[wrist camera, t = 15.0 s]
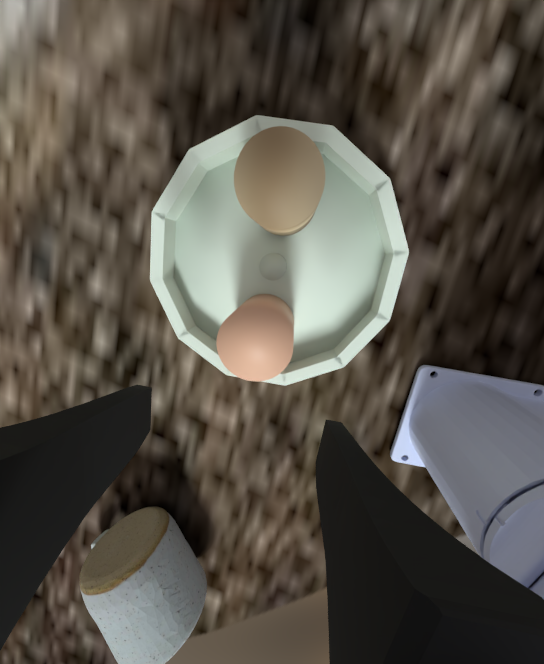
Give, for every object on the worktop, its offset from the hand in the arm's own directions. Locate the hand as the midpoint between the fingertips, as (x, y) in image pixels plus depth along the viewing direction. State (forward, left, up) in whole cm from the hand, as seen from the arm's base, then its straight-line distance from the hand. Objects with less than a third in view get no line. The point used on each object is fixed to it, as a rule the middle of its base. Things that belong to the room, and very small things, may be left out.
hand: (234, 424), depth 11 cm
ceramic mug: (+7, +21, -10) cm, 24 cm away
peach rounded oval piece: (0, -2, -9) cm, 9 cm away
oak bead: (0, -10, -9) cm, 13 cm away
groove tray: (0, -6, -9) cm, 11 cm away
